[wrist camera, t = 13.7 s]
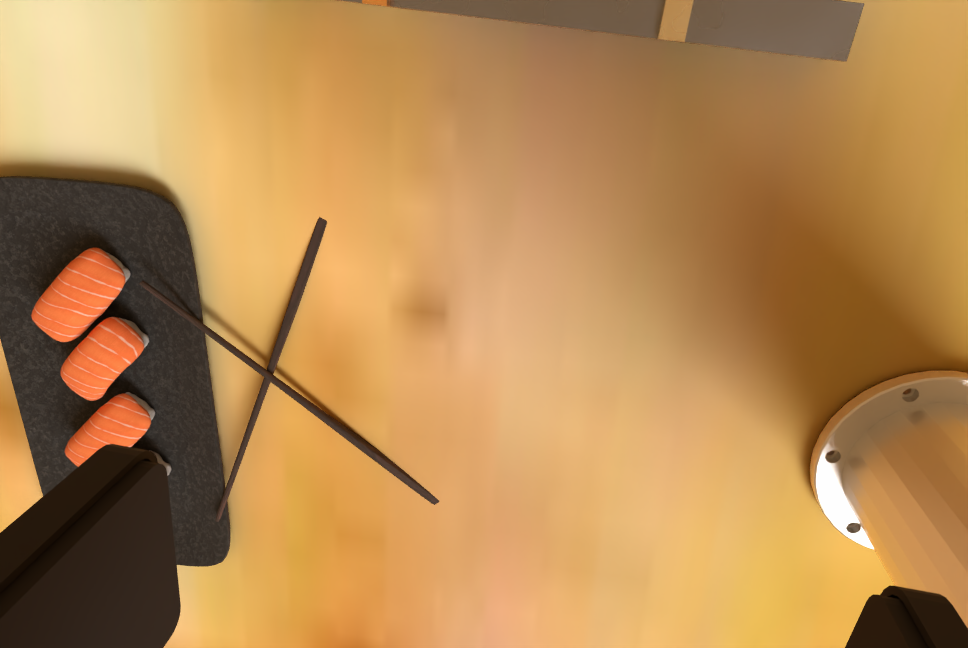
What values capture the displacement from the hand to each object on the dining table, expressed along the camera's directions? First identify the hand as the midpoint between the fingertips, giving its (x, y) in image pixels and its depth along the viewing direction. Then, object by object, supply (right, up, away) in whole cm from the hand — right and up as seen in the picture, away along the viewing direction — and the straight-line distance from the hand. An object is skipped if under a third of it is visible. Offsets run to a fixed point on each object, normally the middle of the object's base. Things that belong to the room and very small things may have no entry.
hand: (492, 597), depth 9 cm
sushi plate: (-17, -1, +37) cm, 41 cm away
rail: (+2, +20, +24) cm, 32 cm away
